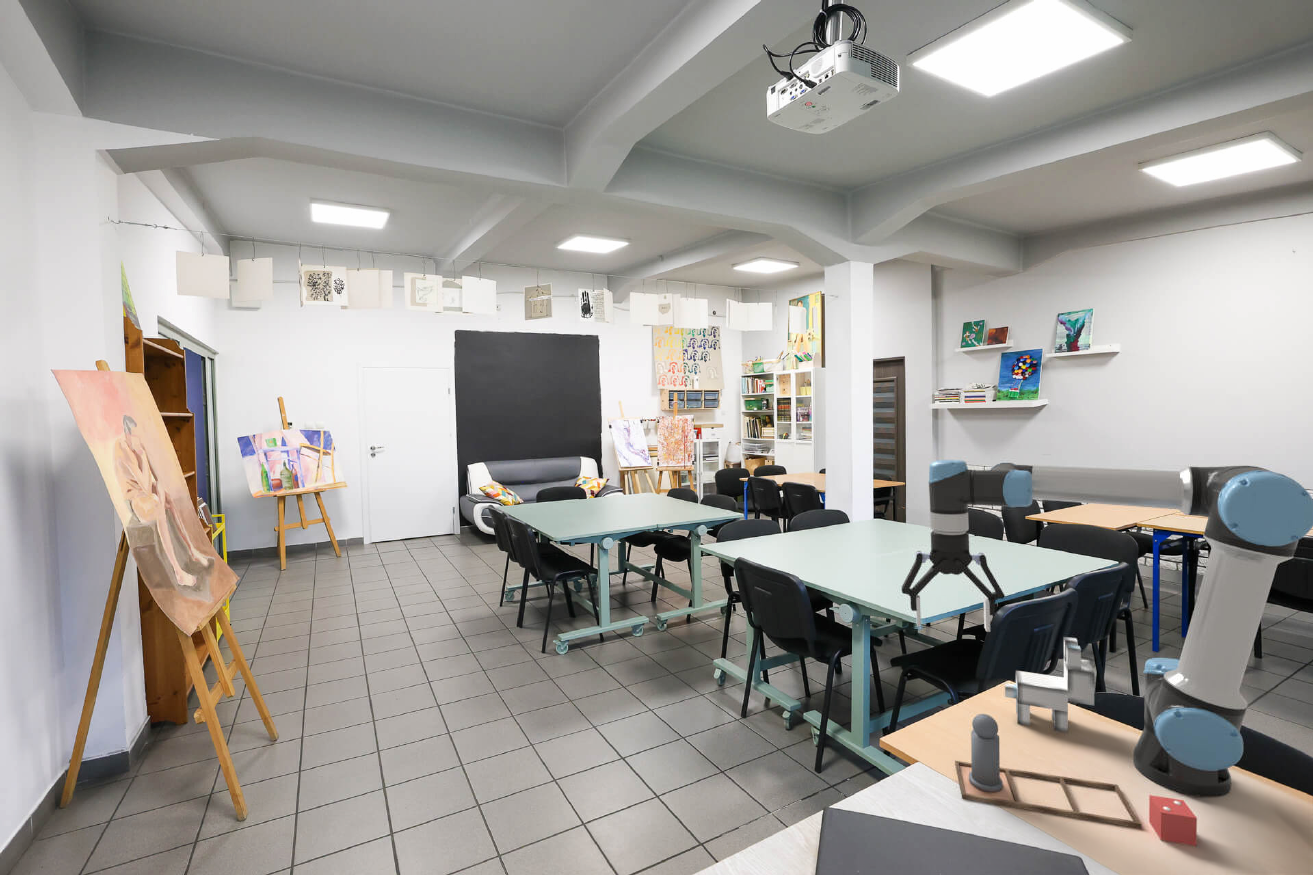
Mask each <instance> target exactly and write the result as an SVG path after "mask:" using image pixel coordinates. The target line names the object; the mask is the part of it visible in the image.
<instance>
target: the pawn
mask: <svg viewBox="0 0 1313 875" xmlns="http://www.w3.org/2000/svg"><path fill="white" fill-rule="evenodd" d="M971 723H972V724H971V726H972V730H971V732H970V734H971V735H970V736H971V737H970V740H971V741H970V742H971V746H970V748H971V749H970V750H971V756H970V757H971V762H970V763H971V764H972V771H971V772H970V773H969V782H970V784H971V785H972V786H974V787H975V788H977V789H979V790H981V791H985V792H990V793H995V792H999V791H1001V790H1002V788H1003V782H1002V780H1001V778H1000V764H1001V763H1000V762H1001V761H1000V760H1001V759H1000V758H1001V757H1000V736H999V734H998V732H999V726H998V723H997V721H996V720H995V718H993V716H991V715H989V714H986V713H979V714H977V715H975V716H974V717H973V719H972V721H971Z"/></svg>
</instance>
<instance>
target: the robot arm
mask: <svg viewBox="0 0 1313 875" xmlns="http://www.w3.org/2000/svg"><path fill="white" fill-rule="evenodd" d="M928 468H929V470H928V471H929V472H928V474H929V476H928V477H929V478H928V479H929V480H928V494H929V495H928V496H929V507H930V508H929V512H930V513H929V516H930V518H929V519H930V522H929V523H930V529H931V530H932V531H931V532H930V547H931V548H930V552H929V553H927V552H926V553H925V552H922V551H920V550H918V551H916V553H915V561H914V563H913V565H912V566H911V569H910V570H909V572H908V574H907V576H906V578H905V580H904V582H903V583H902V586H901V593H902V594H903V595H904V594H905V595H907V596H909V597H910V610H911V612H916V614H915V615H916V616H915V617H916V627H917V628H922V618H921V617H922V616H921V614H922V612H921V595H920V594H919V593H921V591H922V590H923V589H925V588H926V587H927V585H928V584H929V583H931V581H932V580H933V579H934V578H935V577H936V576H937V575H938V574H939V573H941V574H942V575H950V574H952V575H955V576H959V575H962V574H964V575H965V576H966V577H967V578H968V579H969V580H970V581H971V582H972V583H973V585H975V586H976V588H978V589H979V591H980V592H982V594H983V595H984V596H985V597H983V620H984V621H983V622H984V623H983V624H984V625H983V628H984V629H985V632H987V633H990V632H991V616H996V601H997V600H999V599H1001V600H1003V599H1005V593H1004V592H1003V589H1002V588H1001V586H1000V585H999V583H998V582H997V580H996V578H995V577H994V575H993V573H992V571H991V570H990V568H989V566H988V562H987V556H986V555H985V554H984V553H983V552H979V553H978V554H971V553H970V536H969V535H970V534H969V533H968V532H967V531H969V526H970V525H969V507H968V506H991V507H1009V508H1016V507H1021V508H1023V507H1025V508H1027V507H1030V506H1031V505H1032V504H1033V501H1034V500H1040V501H1041V500H1043V501H1053V502H1054V501H1056V502H1058V501H1059V502H1070V503H1080V504H1081V503H1085V504H1097V505H1098V504H1099V505H1112V506H1113V505H1114V506H1127V507H1140V508H1153V509H1155V508H1156V509H1165V510H1166V509H1169V510H1178V511H1180V512H1182V513H1183V514H1184V515H1185V516H1193V517H1204V518H1208V519H1207V522H1206V525H1205V529H1204V533H1203V538H1204V539H1205V540H1206V542H1207V543H1208V545H1209V546H1210V548H1211V549H1210V552H1209V556H1208V560H1207V563H1206V567H1205V570H1204V574H1203V577H1202V580H1201V583H1200V584H1201V585H1200V587H1199V591H1198V594H1197V598H1196V602H1195V604H1194V605H1195V606H1194V610H1193V611H1192V615H1191V619H1190V623H1189V625H1188V629H1187V634H1186V637H1185V639H1184V644H1183V647H1182V651H1181V654H1180V657H1179V659H1177V658H1168V657H1167V658H1166V657H1153V658H1149V659H1147V660H1146V661H1145V665H1144V670H1143V674H1144V716H1143V717H1144V724H1143V725H1144V728H1143V730H1142V732H1141V735H1140V736H1139V738H1138V741H1137V743H1136V746H1135V748H1134V749H1133V764H1134V767H1135V768H1136V770H1137V771H1139V773H1141V774H1142V775H1143V776H1145V777H1146V778H1147V779H1149V780H1150V781H1153V782H1154V783H1157V784H1158V785H1161V786H1164V787H1165V788H1168V789H1171V790H1172V791H1173V790H1174V791H1176V792H1179V793H1183V794H1186V795H1187V794H1188V795H1191V796H1197V797H1205V798H1219V797H1222V796H1226V795H1227V794H1229V793H1230V792H1231V791H1232V777H1231V776H1232V775H1231V773H1230V771H1229V769H1230V768H1231V767H1234V766H1235V765H1236V764H1238V762H1240V760H1241V759H1242V756H1243V753H1244V740H1243V736H1242V734H1241V733H1240V732H1241V727H1242V726H1243V721H1244V719H1245V714H1246V711H1247V708H1248V701H1247V700H1246V699H1245V698H1244V696H1243V695H1242V694H1241V692H1240V689H1241V685H1242V682H1243V680H1244V676H1245V672H1246V669H1247V665H1248V662H1249V660H1250V659H1249V658H1250V655H1251V652H1252V650H1253V647H1254V646H1253V645H1254V643H1255V639H1256V636H1257V632H1258V629H1259V627H1260V623H1261V620H1262V616H1263V614H1264V610H1265V606H1266V603H1267V601H1268V597H1269V594H1270V590H1271V587H1272V583H1273V581H1274V578H1275V573H1276V570H1277V568H1278V565H1279V564H1280V563H1281V564H1282V563H1283V562H1286V561H1288V560H1291V559H1293V558H1294V555H1295V553H1296V550H1297V546H1298V544H1299V540H1301V539H1302V538H1303V537H1305V536H1306V535H1307V534H1308V533H1309V532H1310V531H1311V530H1312V529H1313V497H1312V496H1311V494H1310V493H1309V492H1308V491H1307V489H1305V487H1304V486H1302V484H1300V483H1299V482H1297V481H1296V480H1295V479H1293V478H1291V477H1289V476H1287V475H1285V474H1283V473H1278V472H1274V471H1272V470H1269V469H1265V468H1263V467H1259V466H1256V465H1255V466H1253V465H1228V466H1227V465H1226V466H1224V465H1223V466H1202V467H1201V466H1185V467H1184V468H1183V469H1181V470H1179V471H1178V470H1176V471H1175V470H1157V469H1156V470H1155V469H1154V470H1153V469H1133V468H1132V469H1131V468H1130V469H1129V468H1125V469H1124V468H1109V467H1108V468H1106V467H1105V468H1103V467H1102V468H1101V467H1080V466H1061V465H1060V466H1058V465H1057V466H1055V465H1052V466H1051V465H1036V464H1035V465H1028V464H1015V463H1012V462H1001V463H997V464H995V465H994V466H992V467H991V468H990V469H968V465H967V462H966V461H965V460H961V459H940V460H939V459H938V460H934V461H932V462H931V463H930V465H929V467H928ZM927 560H929V561H930V562H931V564H932V565H931V567H930V568H929V569H928V571H926V573H925V574H924V575H923V576H922V577H921V578H920V579H919V580H918V581H917V582H916V583H915V584H914V585H913V587H912V588H911V586H912V584H913V583H914V580H915V579H916V577H917V575H918V573H919V571H920V569H921V567H922V565H923V564H925V563H926V562H927ZM973 561H974V562H975V564H976V565H978V566H980V568H981V570H982V571H983V573H984V574H985V576H986V577H987V580H988V581H989V583H990V585H991V586H992V588H993V590H994V591H991V590H990V589H989V588H988V587H987V586H986V585H985V584H984V583H983V582H982V581H981V580H980V579H979V578H978V576H976V574H975V573H974V572H973V571H972V570H971V569H970V568H969V565H970V564H971V563H972V562H973Z"/></svg>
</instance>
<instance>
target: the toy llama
mask: <svg viewBox="0 0 1313 875" xmlns="http://www.w3.org/2000/svg"><path fill="white" fill-rule="evenodd" d="M1004 696H1005V698H1007V699H1008V698H1010V699H1015V711H1016V712H1015V714H1016V721H1017V725H1023V726H1027V727H1030V726H1031V707H1036V708H1042V709H1048V710H1051V719H1052V720H1051V721H1053V727H1054V731H1055V732H1060V733H1065V734H1066V733H1067V734H1068V732H1069V704H1068V703H1076V704H1081V705H1088V706H1095V672H1094V669H1093V666H1092V665H1091V662H1090V660H1087V659H1082V649H1081V646H1080V645H1079V641H1078V639H1077V638H1076V637H1068V636H1063V677H1062V676H1058V675H1057V676H1056V675H1048V674H1043V673H1042V674H1041V673H1037V672H1035V673H1034V672H1028V671H1021V670H1015V683H1008V682H1004Z"/></svg>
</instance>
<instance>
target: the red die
mask: <svg viewBox="0 0 1313 875" xmlns="http://www.w3.org/2000/svg"><path fill="white" fill-rule="evenodd" d="M1148 800H1149V802H1148V804H1149V807H1148V809H1149V810H1148V811H1149V813H1148V814H1149V815H1148V816H1149V817H1148V821H1149V824H1150V825H1151V827H1152V828H1153V830H1154V831H1155V834H1156V835H1157V836H1158V838H1159V839H1160V841H1163V842H1164V841H1165V842H1171V843H1175V844H1181V845H1188V846H1193V847H1197V840H1198V838H1197V836H1198V835H1197V833H1198V831H1197V828H1198V827H1197V826H1198V820H1197V819H1198V818H1197V816H1196V815H1195V814H1194V812H1193V811H1192V809H1191V808H1190V807H1189V805H1188V804H1187V803H1186V802H1185V801H1184V799H1176V798H1171V797H1165V796H1159V795H1158V796H1157V795H1151V794H1149V798H1148Z"/></svg>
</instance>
